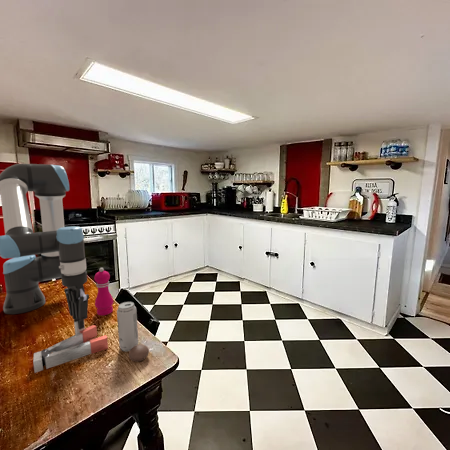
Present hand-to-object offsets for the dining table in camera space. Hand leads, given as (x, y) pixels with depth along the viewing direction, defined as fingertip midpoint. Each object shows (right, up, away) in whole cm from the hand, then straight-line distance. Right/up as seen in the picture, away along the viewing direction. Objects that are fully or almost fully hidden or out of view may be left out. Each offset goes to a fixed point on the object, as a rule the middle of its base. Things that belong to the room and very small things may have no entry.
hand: (80, 336), depth 89 cm
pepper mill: (-1, +1, +21) cm, 21 cm away
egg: (+24, -3, -10) cm, 26 cm away
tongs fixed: (+2, -3, -8) cm, 9 cm away
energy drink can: (+19, -2, -4) cm, 19 cm away
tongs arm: (0, -2, -4) cm, 4 cm away
